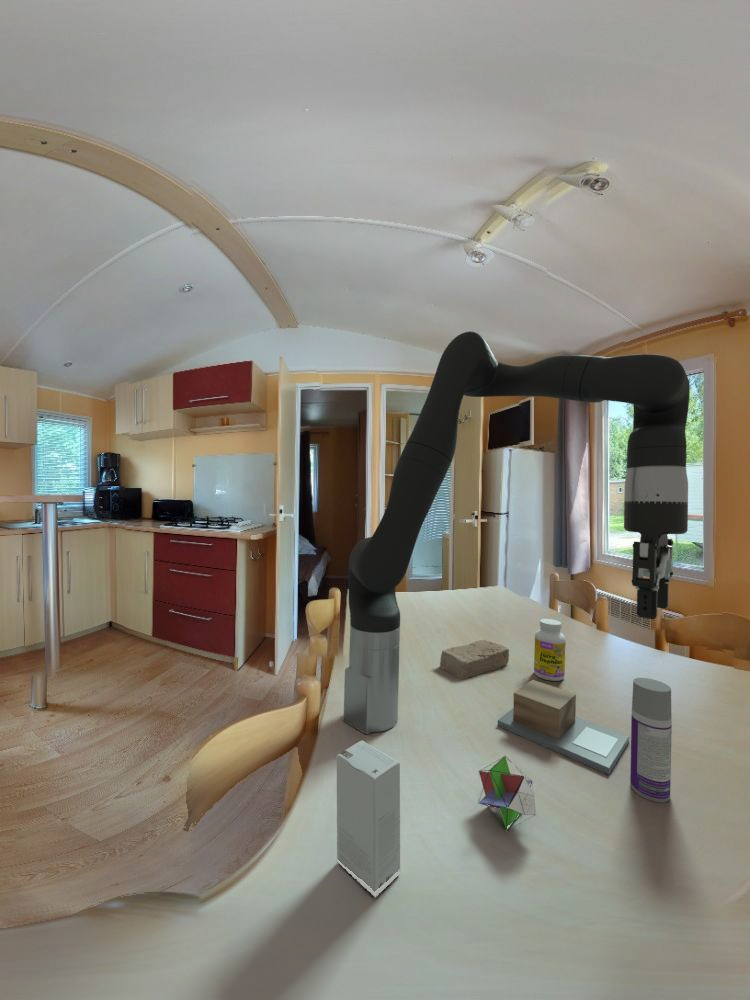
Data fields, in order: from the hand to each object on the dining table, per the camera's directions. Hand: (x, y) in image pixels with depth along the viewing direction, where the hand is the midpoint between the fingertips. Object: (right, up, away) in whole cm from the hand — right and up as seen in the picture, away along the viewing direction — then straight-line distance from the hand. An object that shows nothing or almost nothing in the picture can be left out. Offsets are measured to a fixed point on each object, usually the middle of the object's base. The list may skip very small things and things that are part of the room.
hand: (653, 612), depth 58 cm
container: (-1, -25, -1) cm, 25 cm away
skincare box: (-41, -24, -14) cm, 50 cm away
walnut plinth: (-9, -25, +15) cm, 31 cm away
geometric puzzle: (-23, -25, -6) cm, 34 cm away
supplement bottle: (+1, -26, +37) cm, 45 cm away
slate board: (-7, -25, +13) cm, 29 cm away
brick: (-15, -26, +42) cm, 51 cm away
